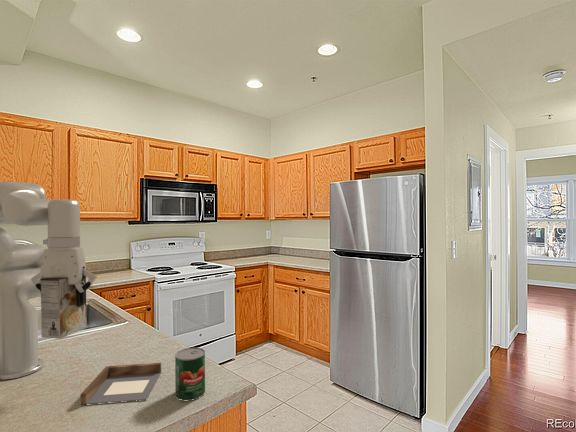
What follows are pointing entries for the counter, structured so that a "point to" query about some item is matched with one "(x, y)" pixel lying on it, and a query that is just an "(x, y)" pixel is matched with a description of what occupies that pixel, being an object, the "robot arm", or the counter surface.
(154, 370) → the corner walls
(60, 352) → the counter surface
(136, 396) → the corner mat
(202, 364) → the canned tomato
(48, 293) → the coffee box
